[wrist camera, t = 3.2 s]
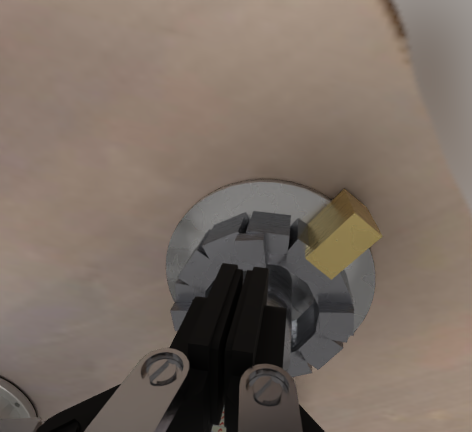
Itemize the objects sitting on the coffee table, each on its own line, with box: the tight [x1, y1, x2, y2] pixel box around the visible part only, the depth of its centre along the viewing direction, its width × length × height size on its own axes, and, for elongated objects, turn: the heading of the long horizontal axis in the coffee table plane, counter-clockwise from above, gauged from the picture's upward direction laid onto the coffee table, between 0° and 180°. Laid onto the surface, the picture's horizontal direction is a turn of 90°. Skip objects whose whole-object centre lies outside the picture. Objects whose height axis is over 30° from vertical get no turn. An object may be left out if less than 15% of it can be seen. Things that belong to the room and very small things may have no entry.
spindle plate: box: [166, 179, 375, 372], centre depth 27 cm, size 19×19×10 cm
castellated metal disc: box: [170, 189, 383, 377], centre depth 27 cm, size 17×14×5 cm
